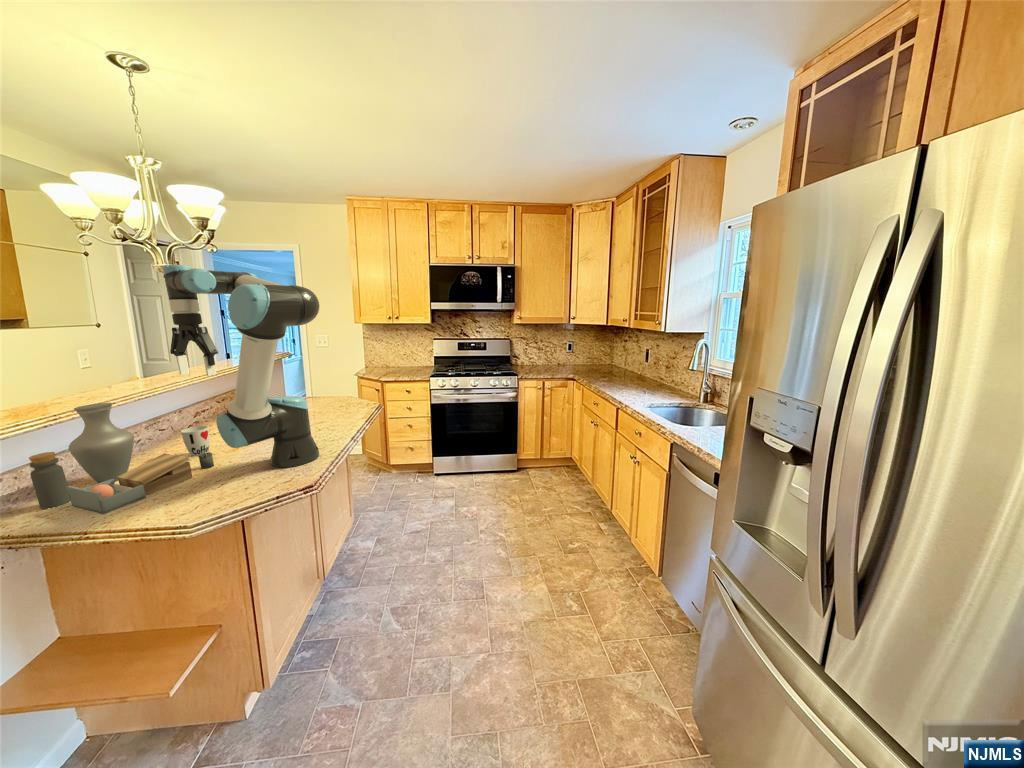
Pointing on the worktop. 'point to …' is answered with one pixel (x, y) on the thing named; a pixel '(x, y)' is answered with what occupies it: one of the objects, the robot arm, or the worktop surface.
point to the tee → (206, 460)
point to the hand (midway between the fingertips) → (198, 374)
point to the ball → (104, 490)
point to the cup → (196, 440)
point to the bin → (97, 504)
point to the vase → (102, 444)
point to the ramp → (158, 473)
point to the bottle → (49, 480)
